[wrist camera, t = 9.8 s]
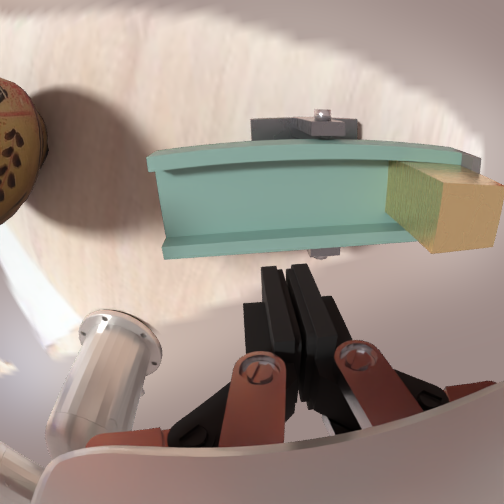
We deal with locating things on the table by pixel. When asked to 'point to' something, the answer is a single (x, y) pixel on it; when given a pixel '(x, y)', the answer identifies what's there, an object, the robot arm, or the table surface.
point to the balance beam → (283, 194)
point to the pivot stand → (306, 129)
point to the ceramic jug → (18, 147)
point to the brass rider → (444, 205)
